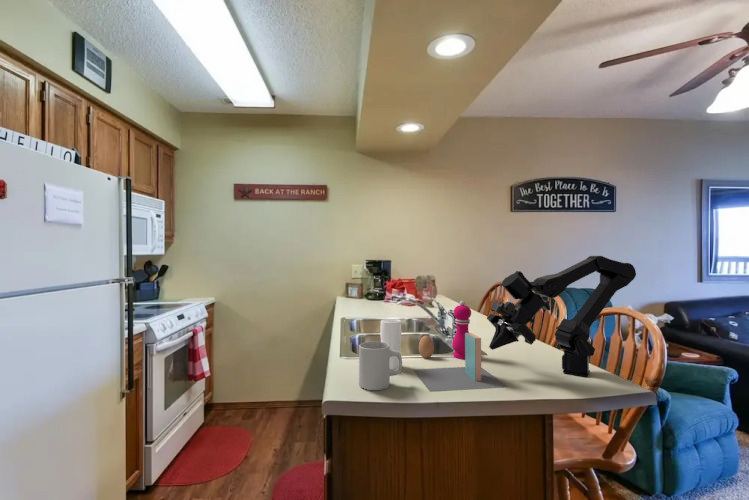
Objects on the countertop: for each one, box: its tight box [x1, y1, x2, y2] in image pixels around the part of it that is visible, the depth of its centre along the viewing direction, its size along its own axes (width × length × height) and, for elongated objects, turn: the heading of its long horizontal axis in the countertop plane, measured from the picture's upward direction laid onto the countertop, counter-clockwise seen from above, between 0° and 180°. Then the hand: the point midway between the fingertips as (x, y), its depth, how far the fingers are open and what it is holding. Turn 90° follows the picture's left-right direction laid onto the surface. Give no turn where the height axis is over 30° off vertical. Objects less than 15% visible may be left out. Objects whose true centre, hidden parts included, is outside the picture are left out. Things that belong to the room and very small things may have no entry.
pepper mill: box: [451, 300, 472, 361], centre depth 122 cm, size 7×7×20 cm
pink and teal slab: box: [464, 332, 482, 381], centre depth 102 cm, size 2×7×12 cm, turn 8°
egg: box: [418, 335, 435, 359], centre depth 122 cm, size 5×5×8 cm
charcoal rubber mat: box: [412, 366, 509, 393], centre depth 101 cm, size 22×18×1 cm
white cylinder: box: [379, 318, 403, 370], centre depth 111 cm, size 7×7×15 cm
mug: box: [358, 341, 403, 391], centre depth 97 cm, size 12×8×11 cm
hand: (490, 348), depth 103 cm, fingers closed
